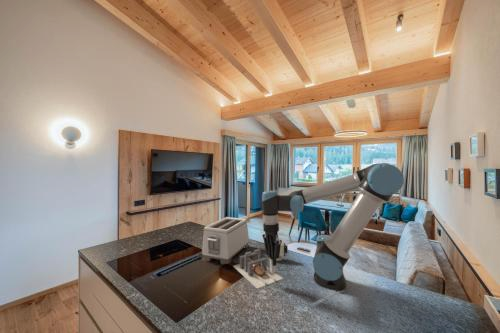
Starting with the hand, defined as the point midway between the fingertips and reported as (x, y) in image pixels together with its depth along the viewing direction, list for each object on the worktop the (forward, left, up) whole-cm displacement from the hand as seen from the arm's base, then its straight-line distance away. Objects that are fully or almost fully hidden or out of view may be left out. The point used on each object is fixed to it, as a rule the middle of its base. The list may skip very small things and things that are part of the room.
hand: (273, 271), depth 101 cm
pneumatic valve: (+20, -19, -8) cm, 28 cm away
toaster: (+47, +4, -8) cm, 48 cm away
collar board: (+15, 0, -8) cm, 16 cm away
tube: (+18, 0, -7) cm, 19 cm away
